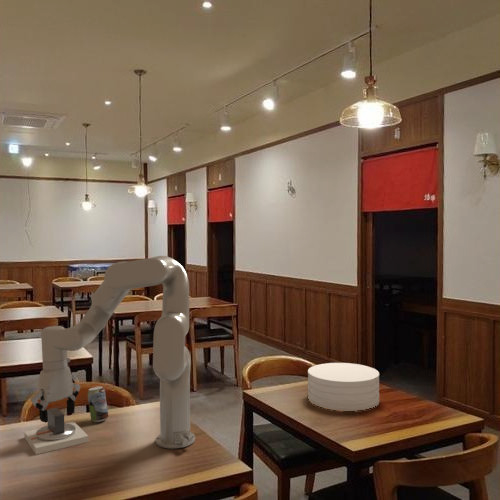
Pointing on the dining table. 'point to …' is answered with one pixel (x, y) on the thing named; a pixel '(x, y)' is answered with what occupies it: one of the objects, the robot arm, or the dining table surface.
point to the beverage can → (97, 404)
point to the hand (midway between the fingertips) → (57, 416)
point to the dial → (55, 427)
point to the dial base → (47, 446)
